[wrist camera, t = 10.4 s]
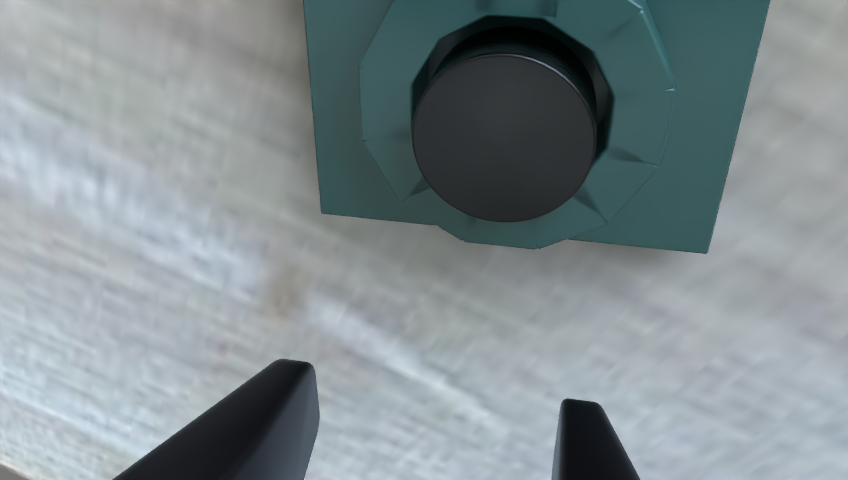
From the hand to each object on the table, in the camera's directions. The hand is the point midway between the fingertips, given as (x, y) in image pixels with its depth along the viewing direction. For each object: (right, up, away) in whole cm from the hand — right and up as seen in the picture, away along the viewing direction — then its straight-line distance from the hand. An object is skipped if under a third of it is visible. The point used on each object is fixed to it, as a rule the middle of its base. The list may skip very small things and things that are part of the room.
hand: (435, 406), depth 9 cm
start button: (+2, +5, +7) cm, 9 cm away
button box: (+2, +6, +10) cm, 12 cm away
